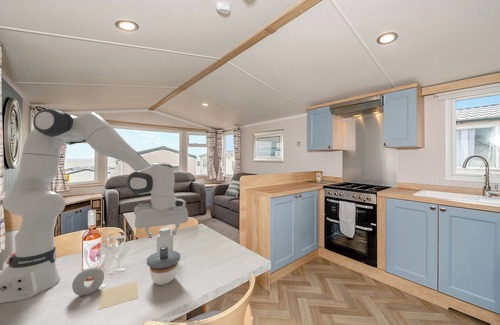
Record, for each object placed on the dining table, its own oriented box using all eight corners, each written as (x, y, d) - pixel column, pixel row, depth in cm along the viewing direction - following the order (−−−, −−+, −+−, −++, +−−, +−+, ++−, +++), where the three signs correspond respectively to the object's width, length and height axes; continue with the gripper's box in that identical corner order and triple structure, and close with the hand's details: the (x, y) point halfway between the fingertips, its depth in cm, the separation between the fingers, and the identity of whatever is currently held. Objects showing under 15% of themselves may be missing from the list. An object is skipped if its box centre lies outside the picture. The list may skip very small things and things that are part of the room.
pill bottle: (162, 262, 106) (161, 232, 106) (153, 257, 111) (153, 229, 111) (176, 256, 112) (176, 228, 112) (167, 252, 117) (167, 225, 117)
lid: (147, 271, 81) (148, 258, 80) (145, 256, 92) (145, 245, 92) (183, 263, 87) (183, 251, 87) (177, 250, 98) (177, 239, 98)
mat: (98, 311, 73) (98, 309, 73) (101, 291, 83) (101, 290, 83) (138, 299, 79) (138, 297, 79) (136, 282, 89) (136, 281, 89)
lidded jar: (144, 286, 86) (143, 263, 86) (162, 273, 97) (162, 252, 96) (166, 292, 83) (166, 268, 83) (182, 277, 93) (182, 255, 93)
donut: (102, 286, 87) (102, 261, 86) (105, 289, 85) (105, 264, 84) (71, 298, 79) (70, 272, 79) (73, 302, 77) (73, 275, 77)
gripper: (134, 205, 80) (133, 242, 80) (189, 201, 90) (188, 234, 90) (134, 202, 86) (133, 237, 86) (186, 199, 96) (185, 230, 96)
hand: (162, 236), depth 88 cm, fingers open, 8 cm apart
